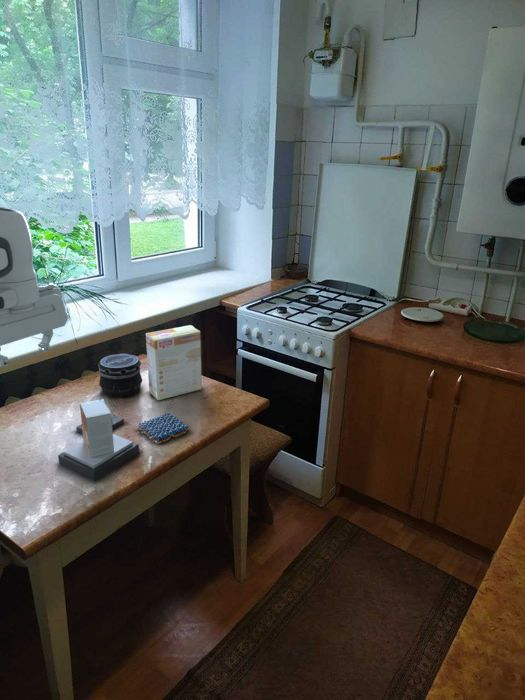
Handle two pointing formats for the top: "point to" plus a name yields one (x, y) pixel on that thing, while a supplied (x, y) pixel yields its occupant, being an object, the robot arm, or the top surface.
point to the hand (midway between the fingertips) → (24, 357)
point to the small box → (97, 427)
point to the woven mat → (163, 428)
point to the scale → (98, 458)
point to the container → (120, 375)
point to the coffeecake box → (174, 361)
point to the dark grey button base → (115, 423)
